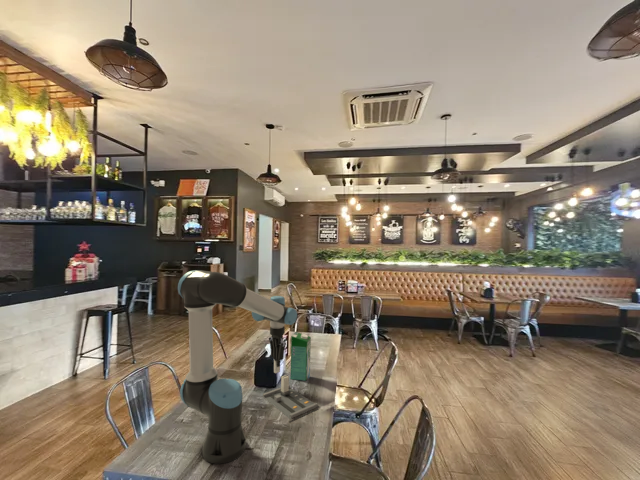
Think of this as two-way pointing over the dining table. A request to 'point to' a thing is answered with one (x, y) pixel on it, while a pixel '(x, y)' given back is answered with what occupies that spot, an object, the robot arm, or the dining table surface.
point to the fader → (285, 385)
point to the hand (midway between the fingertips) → (276, 372)
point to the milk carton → (300, 356)
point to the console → (290, 403)
